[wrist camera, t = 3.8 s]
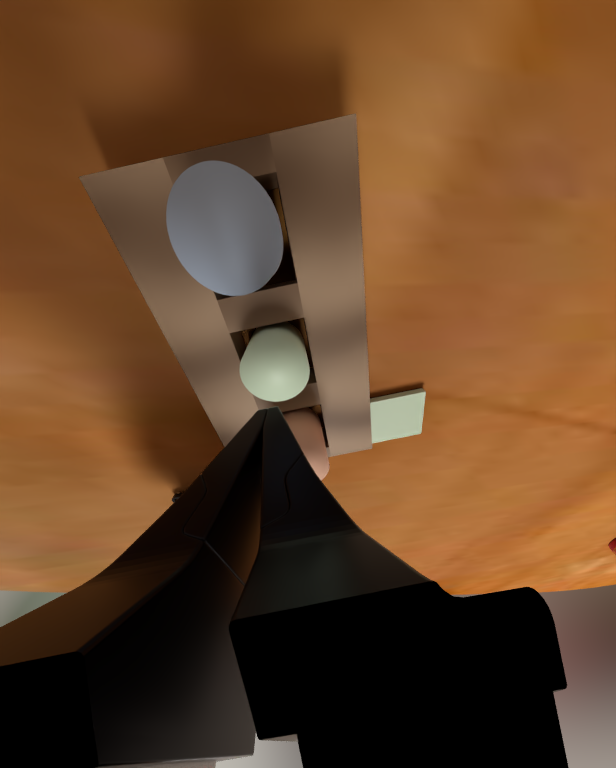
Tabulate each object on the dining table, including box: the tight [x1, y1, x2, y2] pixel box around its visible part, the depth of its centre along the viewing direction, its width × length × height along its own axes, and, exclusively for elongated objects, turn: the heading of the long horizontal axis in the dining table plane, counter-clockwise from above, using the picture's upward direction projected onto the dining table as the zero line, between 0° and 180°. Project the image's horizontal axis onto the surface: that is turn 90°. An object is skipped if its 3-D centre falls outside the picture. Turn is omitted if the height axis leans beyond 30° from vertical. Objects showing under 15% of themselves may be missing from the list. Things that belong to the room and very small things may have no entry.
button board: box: [79, 114, 372, 457], centre depth 15 cm, size 20×12×2 cm, turn 11°
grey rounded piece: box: [166, 161, 284, 296], centre depth 10 cm, size 4×4×4 cm
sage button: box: [240, 321, 310, 402], centre depth 14 cm, size 4×4×4 cm
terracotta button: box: [282, 408, 329, 480], centre depth 16 cm, size 4×4×4 cm
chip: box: [370, 388, 426, 443], centre depth 20 cm, size 5×5×1 cm
